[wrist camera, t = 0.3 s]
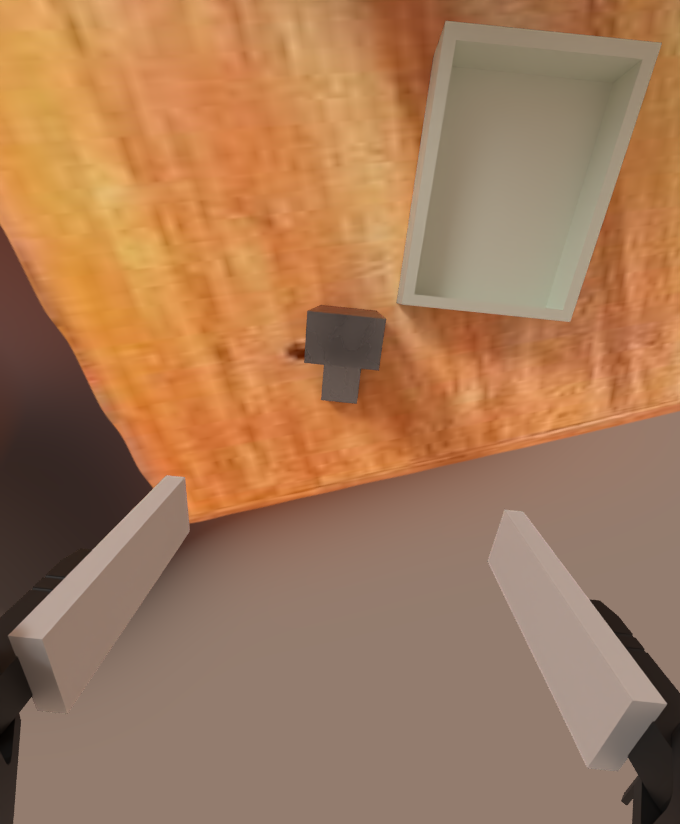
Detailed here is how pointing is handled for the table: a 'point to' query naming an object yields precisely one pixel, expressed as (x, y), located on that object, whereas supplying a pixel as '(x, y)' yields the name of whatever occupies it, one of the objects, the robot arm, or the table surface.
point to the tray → (518, 166)
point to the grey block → (343, 347)
